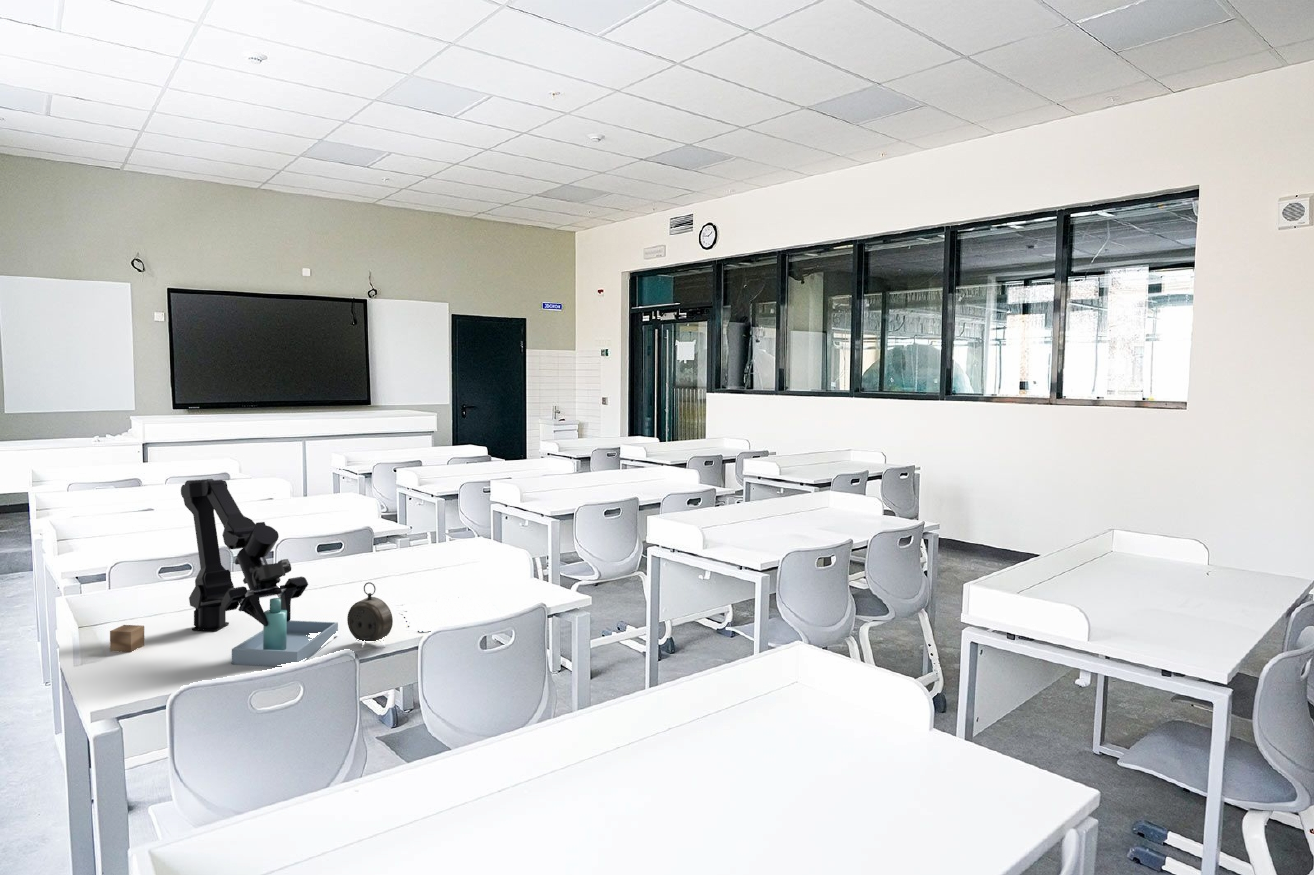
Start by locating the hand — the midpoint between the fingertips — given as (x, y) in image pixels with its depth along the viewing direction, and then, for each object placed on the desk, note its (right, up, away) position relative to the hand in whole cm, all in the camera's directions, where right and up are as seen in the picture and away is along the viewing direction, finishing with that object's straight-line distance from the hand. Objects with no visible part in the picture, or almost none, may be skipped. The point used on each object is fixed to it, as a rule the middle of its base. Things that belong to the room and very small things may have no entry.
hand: (278, 623), depth 192 cm
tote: (-1, -8, +8) cm, 11 cm away
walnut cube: (-38, -7, +4) cm, 39 cm away
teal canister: (-1, -6, +1) cm, 7 cm away
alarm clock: (+17, -9, +13) cm, 23 cm away
